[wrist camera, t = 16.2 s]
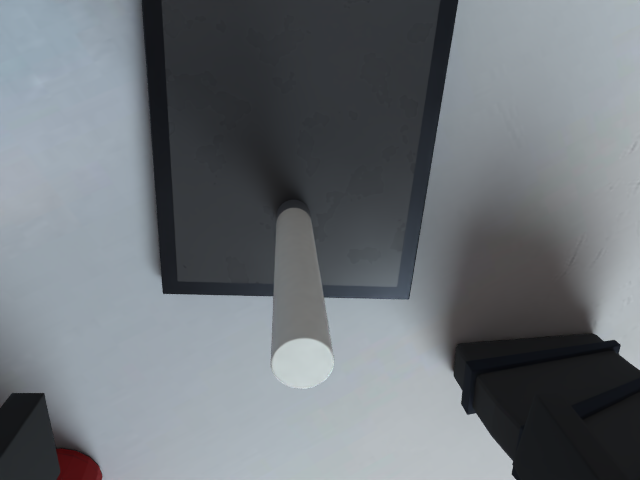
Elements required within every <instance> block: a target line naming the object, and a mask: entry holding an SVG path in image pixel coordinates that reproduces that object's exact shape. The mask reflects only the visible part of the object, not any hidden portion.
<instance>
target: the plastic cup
mask: <svg viewBox="0 0 640 480" xmlns="http://www.w3.org/2000/svg"><path fill="white" fill-rule="evenodd" d="M56 452H57V457H58V461H59V466H60V471H61V472H60V474H59V476H58V478H57V480H102V474H101V471H100V468H99V466H98V465H97V464H96V463H95V462H94V461H93V460H92V459H91V458H90V457H88V456H86V455H84V454H82V453H80V452H78V451H74V450H68V449H62V448H60V449H56Z"/></svg>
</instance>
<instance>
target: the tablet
mask: <svg viewBox="0 0 640 480" xmlns="http://www.w3.org/2000/svg"><path fill="white" fill-rule="evenodd" d="M457 5H458V0H142V12H143V26H144V40H145V53H146V67H147V81H148V95H149V109H150V123H151V136H152V150H153V164H154V178H155V192H156V205H157V219H158V233H159V247H160V261H161V275H162V288H163V294H198V295H242V296H274V271H275V246H276V221H277V211H278V209H279V207H280V206H281V205H282V204H283V203H284V202H286V201H288V200H299V201H301V202H303V203H304V204H306V206H307V207H308V208H309V211H310V216H311V222H312V228H313V234H314V240H315V246H316V253H317V259H318V265H319V271H320V277H321V283H322V289H323V295H324V297H329V298H373V299H409V296H410V290H411V284H412V278H413V272H414V266H415V260H416V254H417V248H418V241H419V235H420V229H421V223H422V217H423V211H424V205H425V199H426V193H427V187H428V181H429V175H430V169H431V163H432V157H433V150H434V144H435V138H436V132H437V126H438V120H439V114H440V108H441V102H442V96H443V90H444V84H445V78H446V72H447V65H448V59H449V53H450V47H451V41H452V35H453V29H454V23H455V17H456V11H457Z"/></svg>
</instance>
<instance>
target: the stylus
mask: <svg viewBox="0 0 640 480" xmlns="http://www.w3.org/2000/svg"><path fill="white" fill-rule="evenodd" d="M333 366H334V356H333V350H332V344H331V338H330V332H329V326H328V320H327V313H326V307H325V301H324V295H323V289H322V283H321V277H320V271H319V265H318V259H317V253H316V246H315V240H314V234H313V228H312V222H311V216H310V211H309V208H308V207H307V206H306V204H304V203H303V202H301V201H299V200H288V201H286V202H284V203H283V204H282V205H281V206H280V207H279V209H278V211H277V221H276V246H275V271H274V296H273V321H272V346H271V369H272V372H273V374H274V375H275V377H276V378H277V379H278V380H279V381H280V382H281V383H283V384H284V385H286V386H289V387H292V388H297V389H305V388H311V387H314V386H316V385H318V384H320V383H322V382H323V381H324V380H326V379H327V378H328V376H329V375H330V373H331V372H332V369H333Z"/></svg>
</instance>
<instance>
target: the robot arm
mask: <svg viewBox="0 0 640 480" xmlns="http://www.w3.org/2000/svg"><path fill="white" fill-rule="evenodd" d="M512 465H513V467H514V468H515V470H516V472H517V474H518V476H519V477H520V479H521V480H630V478H629V477H628V476H627V475H626V473H625V472H624V471H623V470H622V469H621V467H620V466H619V465H618V464H617V462H616V461H615V460H614V459H613V457H612V456H611V455H610V454H609V452H608V451H607V450H606V449H605V447H604V446H603V445H602V444H601V442H600V441H599V440H598V439H597V438H596V436H595V435H594V434H593V433H592V431H591V430H590V429H589V428H588V426H587V425H586V424H585V423H584V421H583V420H582V419H581V418H580V416H579V415H578V414H577V413H576V412H575V410H574V409H573V408H572V407H571V405H570V404H569V403H568V402H567V400H566V399H565V398H564V397H563V395H562V394H561V393H535V395H534V398H533V402H532V405H531V408H530V411H529V414H528V417H527V420H526V423H525V426H524V430H523V433H522V436H521V439H520V442H519V445H518V448H517V451H516V455H515V458H514V461H513V464H512ZM60 472H61V471H60V466H59V461H58V457H57V452H56V447H55V442H54V438H53V433H52V428H51V423H50V419H49V414H48V409H47V405H46V400H45V395H44V393H12V394H11V395H10V396H9V398H8V399H7V400H6V402H5V403H4V404H3V405H2V407H1V408H0V480H57V478H58V476H59V474H60Z"/></svg>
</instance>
